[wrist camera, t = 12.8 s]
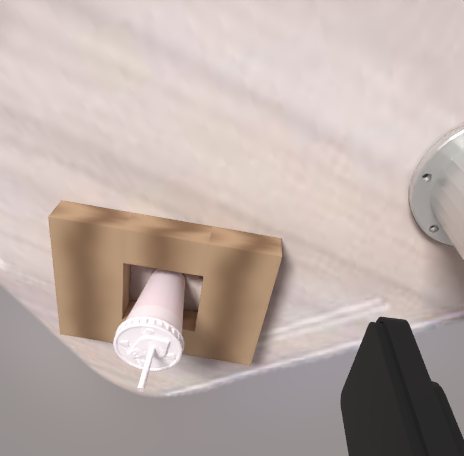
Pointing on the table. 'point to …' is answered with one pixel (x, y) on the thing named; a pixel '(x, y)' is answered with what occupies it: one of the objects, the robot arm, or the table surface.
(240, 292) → the socket board
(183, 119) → the table surface
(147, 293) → the smoothie
